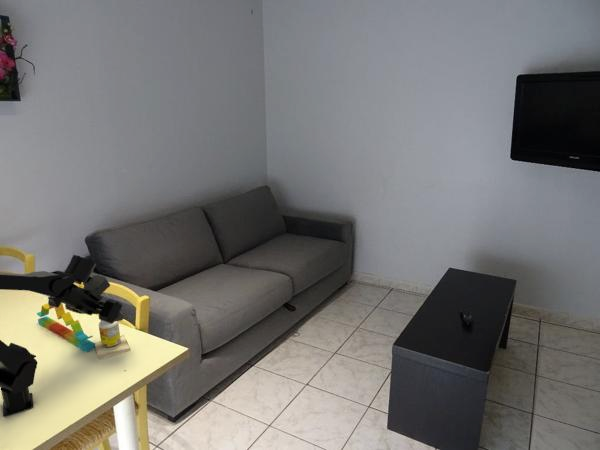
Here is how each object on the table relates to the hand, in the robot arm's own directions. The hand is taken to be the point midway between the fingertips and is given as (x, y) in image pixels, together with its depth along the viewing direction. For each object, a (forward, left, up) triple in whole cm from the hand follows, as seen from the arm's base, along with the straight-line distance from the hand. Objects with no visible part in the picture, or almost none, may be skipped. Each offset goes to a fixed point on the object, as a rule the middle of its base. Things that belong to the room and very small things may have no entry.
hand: (112, 315), depth 138 cm
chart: (+16, +13, -11) cm, 23 cm away
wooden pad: (-1, +1, -11) cm, 11 cm away
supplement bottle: (-1, +1, -10) cm, 10 cm away
